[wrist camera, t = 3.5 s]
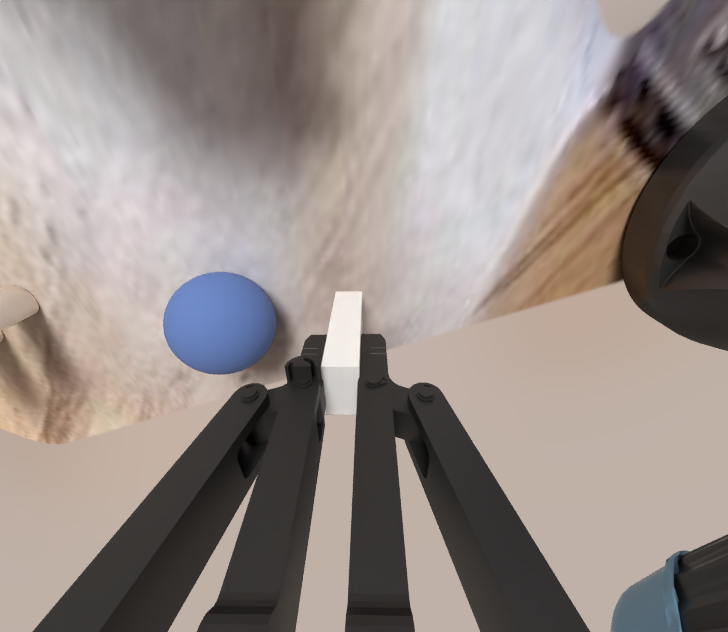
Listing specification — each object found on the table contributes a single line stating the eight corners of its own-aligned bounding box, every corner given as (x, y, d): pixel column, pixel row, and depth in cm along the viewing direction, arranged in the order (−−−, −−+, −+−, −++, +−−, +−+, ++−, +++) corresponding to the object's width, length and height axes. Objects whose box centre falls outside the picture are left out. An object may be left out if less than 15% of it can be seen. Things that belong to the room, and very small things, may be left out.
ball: (302, 289, 20) (276, 342, 15) (265, 349, 23) (232, 412, 17) (216, 238, 18) (152, 278, 13) (186, 309, 21) (124, 364, 16)
